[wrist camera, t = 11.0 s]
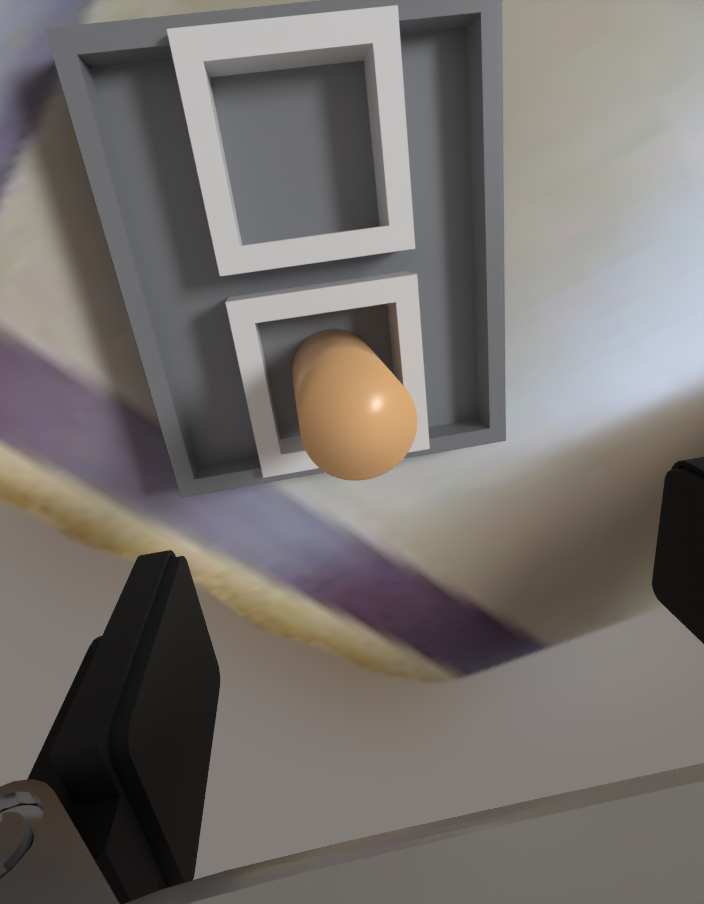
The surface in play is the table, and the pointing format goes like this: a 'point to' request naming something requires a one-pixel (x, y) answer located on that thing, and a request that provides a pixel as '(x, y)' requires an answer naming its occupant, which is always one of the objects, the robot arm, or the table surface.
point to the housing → (299, 212)
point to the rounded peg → (350, 407)
